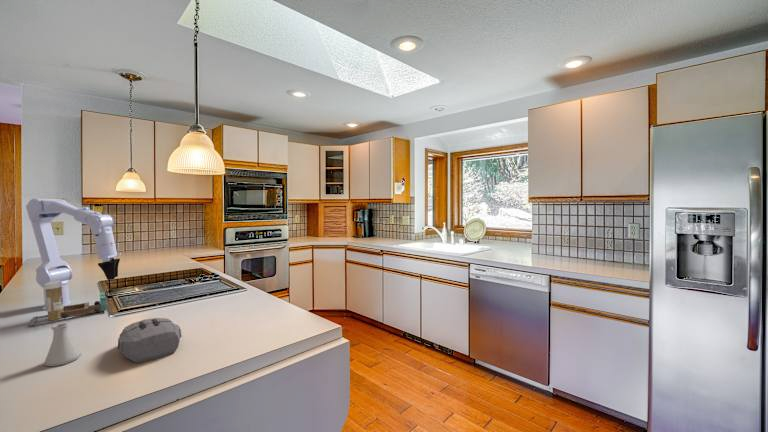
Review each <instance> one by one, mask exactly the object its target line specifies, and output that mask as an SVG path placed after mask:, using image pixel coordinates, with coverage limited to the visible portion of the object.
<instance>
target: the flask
mask: <svg viewBox="0 0 768 432" xmlns="http://www.w3.org/2000/svg"><path fill="white" fill-rule="evenodd" d="M69 324H70V323H68V322H63V323H62V322H61V323H57V324H55V325H53V326H51V330H52V331H53V336H52V341H51V344H50V347H49V350H48V352H47V355H46V358H45V360H44V362H43V366H45V367H46V366H47V367H56V366H57V367H58V366H63V365H67V364H69V363H71V362H73V361H76V360H78V359H79V358H80V357H81V355H82V353H81V352H80V350H79V349H78V347H77V346H76V344H75V343H74V341H73V340H72V338H71V336H70V334H69V330H68V326H69Z"/></svg>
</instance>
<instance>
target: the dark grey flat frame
mask: <svg viewBox="0 0 768 432" xmlns="http://www.w3.org/2000/svg"><path fill="white" fill-rule="evenodd" d="M103 314H105V311H100V312H94V313H89V314H83V315H78V316H72V317H67V318H60V319H57V320H49V321H45V322H40V323H36V322H37V320H38V319H42V318H44V319H45V318H48V314H47V315H45V314H44V315H40V316H38V315H37V316H36V315H35V316H33V317H32V318H31V319H32V320H31V321H30V323H29V328H33V327H34V328H35V327H38V326H44V325H48V324H53V323H60V322H61V323H62V322H65V321H70V320H76V319H81V318H86V317H92V316H98V315H103Z"/></svg>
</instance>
